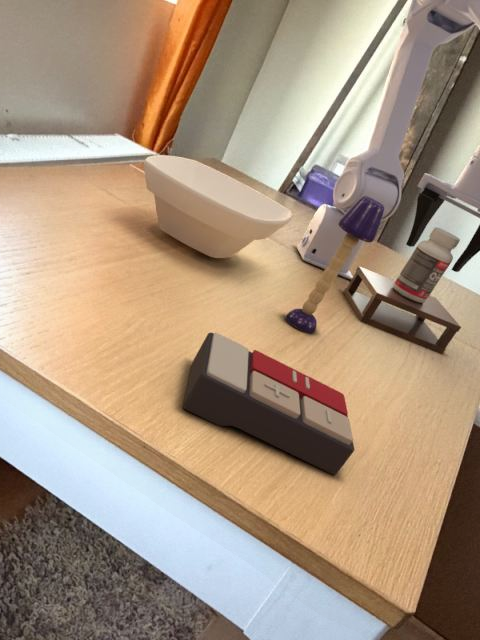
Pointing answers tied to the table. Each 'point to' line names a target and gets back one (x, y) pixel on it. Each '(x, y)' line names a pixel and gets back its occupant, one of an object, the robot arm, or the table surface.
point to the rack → (399, 311)
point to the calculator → (269, 402)
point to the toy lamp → (340, 257)
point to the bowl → (209, 206)
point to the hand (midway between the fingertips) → (432, 257)
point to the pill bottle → (426, 266)
